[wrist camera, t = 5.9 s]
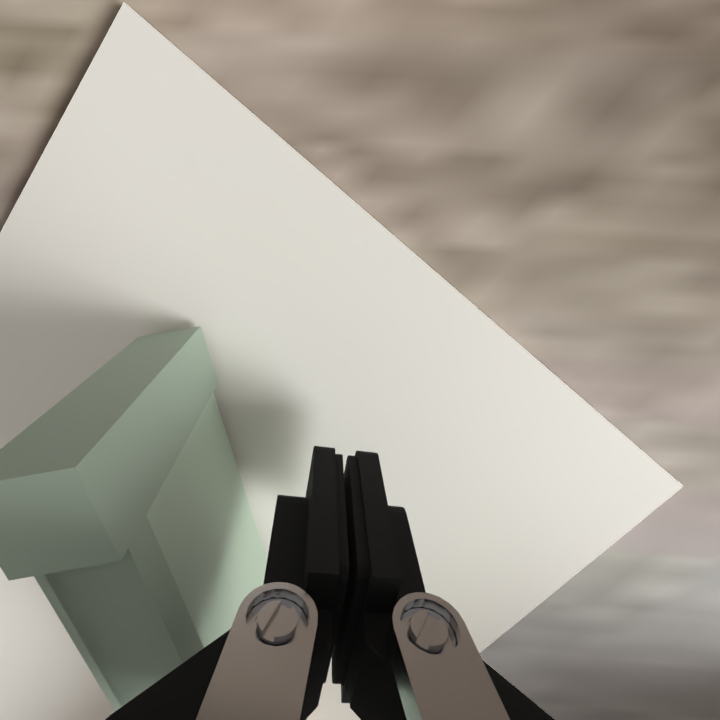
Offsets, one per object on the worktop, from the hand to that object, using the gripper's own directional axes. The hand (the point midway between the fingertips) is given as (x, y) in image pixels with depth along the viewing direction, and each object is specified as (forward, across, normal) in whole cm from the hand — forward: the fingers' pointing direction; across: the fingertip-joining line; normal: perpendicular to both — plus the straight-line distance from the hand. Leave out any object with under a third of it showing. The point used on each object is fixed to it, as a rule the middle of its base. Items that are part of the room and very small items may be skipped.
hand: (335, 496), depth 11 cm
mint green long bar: (+2, +3, +2) cm, 4 cm away
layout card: (+2, +4, +6) cm, 7 cm away
